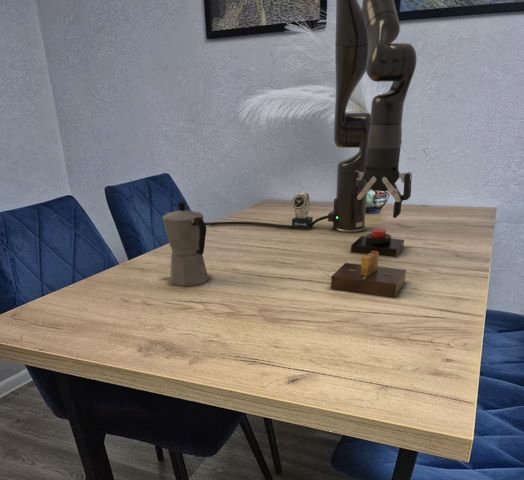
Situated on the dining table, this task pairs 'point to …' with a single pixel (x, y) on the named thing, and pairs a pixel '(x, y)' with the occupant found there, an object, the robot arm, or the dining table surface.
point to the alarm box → (377, 245)
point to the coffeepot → (186, 246)
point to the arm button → (378, 233)
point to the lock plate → (368, 280)
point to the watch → (301, 211)
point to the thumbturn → (369, 263)
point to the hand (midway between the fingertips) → (378, 215)
